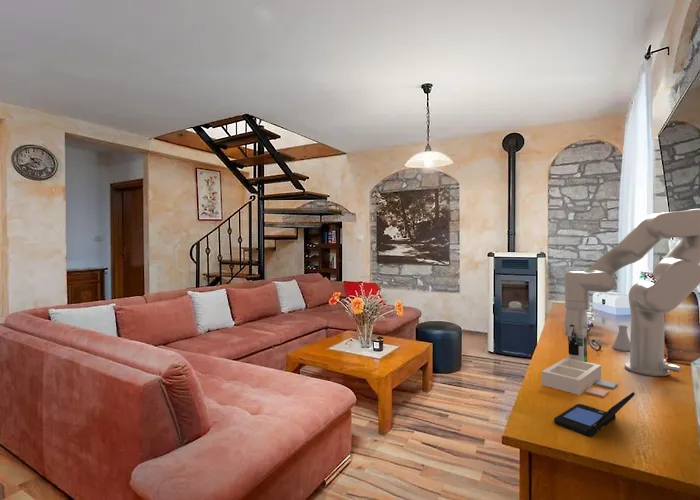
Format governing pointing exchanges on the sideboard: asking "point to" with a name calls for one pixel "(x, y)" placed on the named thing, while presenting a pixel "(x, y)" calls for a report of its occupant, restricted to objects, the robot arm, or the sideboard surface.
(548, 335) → the sideboard surface
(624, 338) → the flask
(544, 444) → the sideboard surface
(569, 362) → the socket block
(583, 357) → the syrup box
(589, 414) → the game console
